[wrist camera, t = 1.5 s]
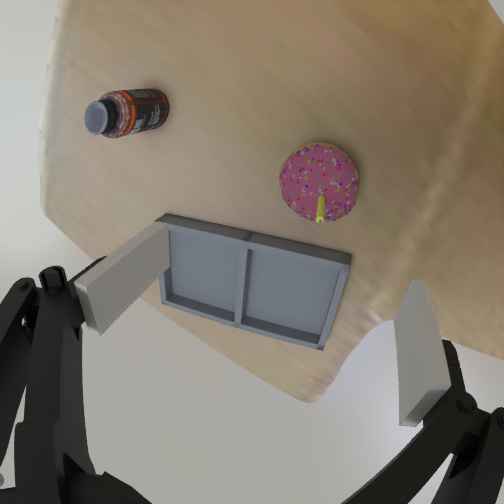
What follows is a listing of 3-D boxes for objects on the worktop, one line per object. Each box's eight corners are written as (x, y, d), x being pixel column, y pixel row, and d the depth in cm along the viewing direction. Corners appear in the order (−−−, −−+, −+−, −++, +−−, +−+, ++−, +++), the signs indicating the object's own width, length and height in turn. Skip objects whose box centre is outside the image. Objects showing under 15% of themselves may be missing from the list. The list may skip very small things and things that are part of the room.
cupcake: (370, 192, 34) (376, 230, 24) (308, 218, 38) (288, 263, 28) (337, 126, 32) (331, 135, 22) (275, 157, 36) (241, 180, 26)
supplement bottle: (136, 90, 37) (78, 94, 27) (170, 87, 35) (113, 88, 26) (136, 129, 40) (79, 143, 30) (169, 129, 38) (114, 142, 29)
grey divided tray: (350, 254, 38) (350, 265, 36) (325, 337, 45) (322, 350, 43) (166, 213, 44) (155, 220, 42) (170, 293, 52) (161, 303, 49)
